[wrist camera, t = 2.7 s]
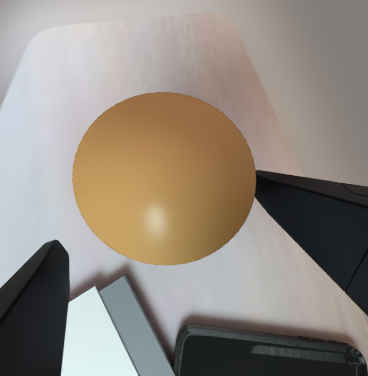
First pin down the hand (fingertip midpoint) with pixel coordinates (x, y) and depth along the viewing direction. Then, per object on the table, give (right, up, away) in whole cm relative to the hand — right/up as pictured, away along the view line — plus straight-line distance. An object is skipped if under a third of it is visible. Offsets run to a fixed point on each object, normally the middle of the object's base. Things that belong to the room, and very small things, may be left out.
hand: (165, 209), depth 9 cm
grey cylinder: (-1, -2, +8) cm, 8 cm away
